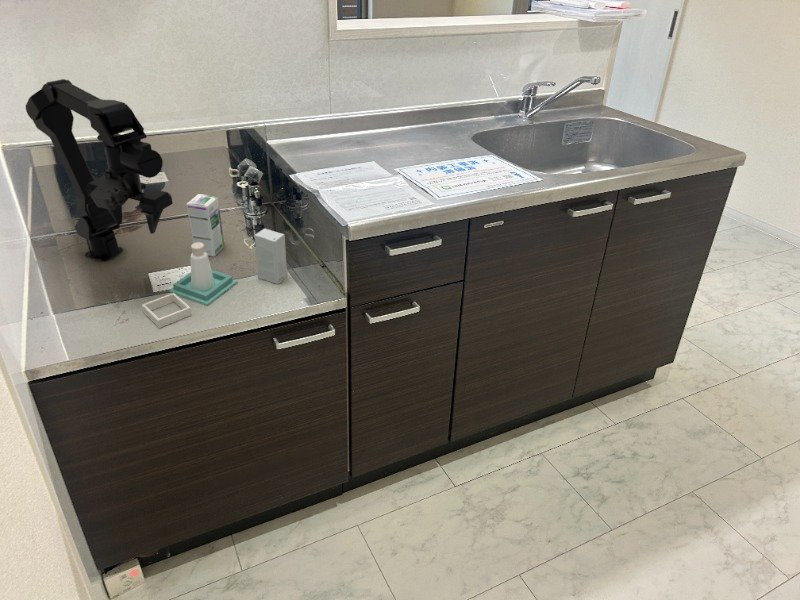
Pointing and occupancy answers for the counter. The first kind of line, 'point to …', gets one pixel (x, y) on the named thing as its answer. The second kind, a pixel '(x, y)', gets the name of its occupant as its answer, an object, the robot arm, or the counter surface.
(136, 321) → the counter surface
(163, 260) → the counter surface
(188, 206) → the syrup box
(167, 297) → the white square tray
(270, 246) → the skincare box
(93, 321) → the counter surface
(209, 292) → the teal square tray
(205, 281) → the pepper shaker
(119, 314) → the counter surface
